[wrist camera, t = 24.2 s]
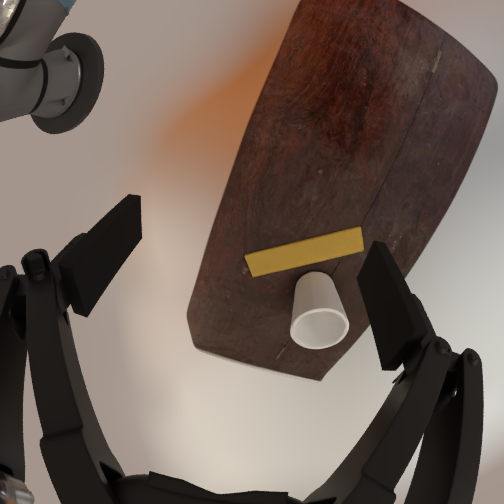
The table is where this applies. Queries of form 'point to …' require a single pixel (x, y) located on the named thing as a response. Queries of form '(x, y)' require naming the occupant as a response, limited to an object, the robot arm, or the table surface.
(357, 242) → the yellow plank
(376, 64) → the table surface
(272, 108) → the table surface
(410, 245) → the table surface
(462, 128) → the table surface
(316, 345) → the cup
